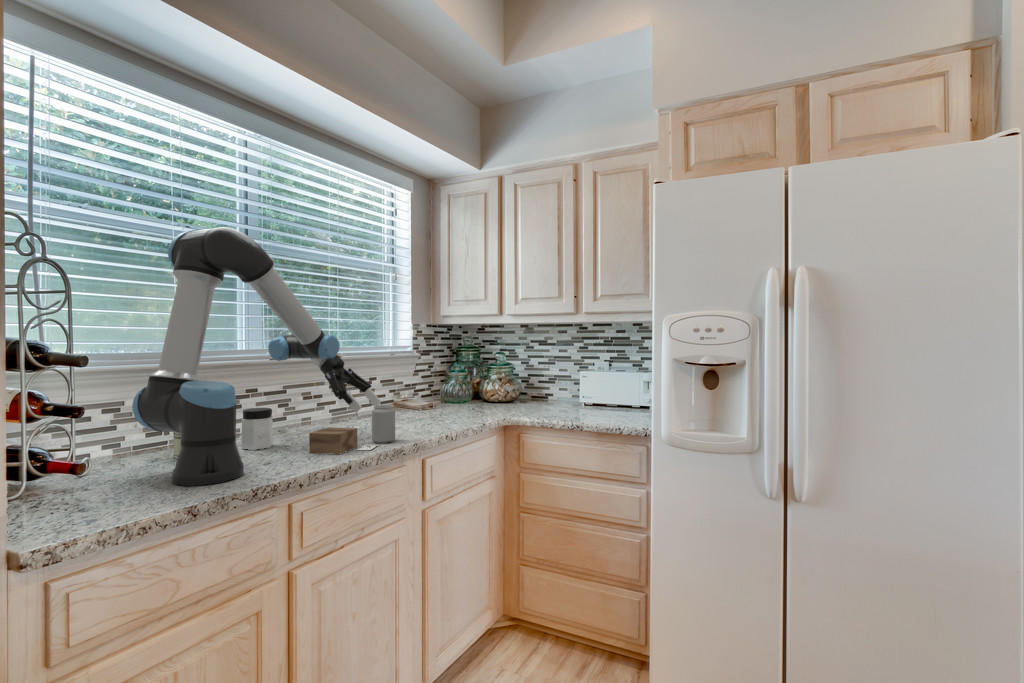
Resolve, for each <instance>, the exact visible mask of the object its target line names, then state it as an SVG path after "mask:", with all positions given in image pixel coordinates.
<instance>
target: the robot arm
mask: <svg viewBox="0 0 1024 683" xmlns="http://www.w3.org/2000/svg"><path fill="white" fill-rule="evenodd" d="M167 249H168V250H167V257H168V260H169V261H170V265H171V267H172V268H173V270H172V275H173V276H174V277H175V278H176V280H177V284H176V288H175V292H174V298H173V302H172V307H171V310H170V316H169V320H168V325H167V328H166V333H165V338H164V343H163V347H162V350H161V356H160V360H159V364H158V367H157V368H158V369H157V370H155V371H154V372H153V373H151V374H149V376H148V380H147V383H146V384H147V385H146V386H144V387H142V389H141V390H138V391H137V393H136V394H135V396H134V398H133V401H132V413H133V416H134V418H135V420H137V422H138V423H139V425H141V426H142V427H144V428H146V429H149V430H153V431H155V432H156V431H157V432H163V433H164V432H165V433H166V432H170V433H174V432H178V433H181V449H180V453H179V456H178V459H176V462H175V466H174V467H175V468H174V469H172V471H171V472H172V474H171V483H172V484H173V485H176V486H177V485H178V486H187V487H189V486H205V484H207V485H213V483H215V484H219V483H218V482H220V483H224V482H223V481H225V482H228V481H227V480H229V481H232V480H231V479H233V480H235V478H236V479H238V478H240V477H242V476H243V475H244V474H245V465H244V462H243V461H242V458H241V454H240V452H239V448H238V445H237V432H236V431H237V398H236V390H235V387H234V386H233V385H232V384H230V383H228V382H224V381H217V380H216V381H215V380H213V381H212V380H202V379H201V378H200V376H198V373H199V367H200V362H201V358H202V352H203V347H204V344H205V343H204V342H205V337H206V332H207V328H208V324H209V318H210V312H211V309H212V304H213V298H214V294H215V290H216V288H217V287H219V286H221V285H222V284H223V283H224V279H225V278H224V277H225V273H227V272H228V273H229V272H230V273H232V274H234V275H236V276H237V277H238V278H239V280H241V282H242V283H245V284H249V285H250V286H251V287H252V288H253V290H254V291H255V292H256V293H257V294H258V296H259V297H260V298H261V299H262V300H263V301H264V303H265V304H266V305H267V306H268V308H269V309H270V310H271V311H272V312H273V313H274V314H275V316H276V317H277V318H278V319H279V321H280V322H282V324H283V325H284V326H285V328H286V329H287V330H288V331H289V332H290V333H291V334H287V335H282V336H281V335H280V336H277V337H274V338H271V340H270V341H269V343H268V346H267V348H268V349H267V350H268V354H269V356H270V357H271V358H272V359H273V360H274V361H277V362H281V361H286V360H291V359H303V360H304V359H306V360H307V359H310V360H311V361H312V362H313V363H314V364H313V365H315V366H316V367H317V368H319V370H320V371H321V372H322V373H323V375H324V378H325V379H326V380H327V382H328V383H329V386H330V388H331V390H332V392H333V394H334V396H335V397H336V398H337V399H338V400H344V402H345V403H346V404H347V405H348V406H349V407H350V409H351V410H352V411H353V412H354V413H355V414H357V413H358V412H359V411H360V410H361V409H362V408H363V406H362V405H361V404H360V402H358V400H357V399H356V398H355V397H354V396H353V395H352V394H351V392H347V387H346V386H347V385H351V386H353V387H354V388H356V389H358V390H359V391H361V392H362V393H363V395H364V397H366V398H367V400H368V401H369V402H370V403H371V405H373V407H374V406H377V405H381V403H382V401H381V399H380V398H379V397H378V396H377V395H376V394H375V392H374V391H373V390H372V389H371V387H372V385H371V384H370V383H369V382H368V381H367V380H365V379H364V378H363V377H361V376H360V375H358V374H357V373H356V372H354V371H353V370H352V368H348V369H346V368H344V366H345V362H344V360H343V359H342V358H341V357H340V356H339V355H338V354H339V351H340V342H339V339H338V338H337V337H336V336H335V335H333V334H326V333H325V332H324V330H322V329H321V327H320V326H319V324H318V323H317V322H316V321H315V320H314V318H313V317H312V315H311V314H310V313H309V312H308V310H307V309H306V308H305V306H303V304H302V303H301V301H300V300H299V299H298V297H297V296H296V295H295V294H294V293H293V291H292V289H291V288H290V287H289V286H288V285H287V283H286V282H285V281H284V280H283V278H282V277H281V275H280V274H279V273H278V272H277V270H276V269H275V262H274V260H273V259H272V258H271V257H270V255H269V254H268V253H267V252H266V250H265V249H263V247H262V246H261V245H260V244H258V243H257V242H256V241H255V240H254V239H253V238H251V237H250V236H249V235H247V234H245V233H244V232H242V231H240V230H237V229H236V228H232V227H228V226H221V227H220V226H219V227H214V228H205V229H192V230H187V231H186V232H181V233H179V234H177V235H176V236H175V237H174V238H173V239H172V240H171V241H170V243H169V246H168V248H167ZM346 384H347V385H346Z"/></svg>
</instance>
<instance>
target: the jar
mask: <svg viewBox="0 0 1024 683" xmlns="http://www.w3.org/2000/svg"><path fill="white" fill-rule="evenodd" d="M272 413H273V409H272V408H271V407H253V408H245V409H243V410H242V419H241V450H243V449H248V450H247V451H258V450H257V449H260V450H265V449H264V448H267V449H270V448H271V447H272V446H273V445H274V444H273V437H274V436H273V416H272V415H273V414H272Z"/></svg>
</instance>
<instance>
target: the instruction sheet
mask: <svg viewBox="0 0 1024 683" xmlns="http://www.w3.org/2000/svg"><path fill="white" fill-rule="evenodd" d="M370 445H372V446H378V447H380V444H363V445H362V446H367V447H369V448H371V446H370ZM363 448H364V447H363Z"/></svg>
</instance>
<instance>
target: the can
mask: <svg viewBox="0 0 1024 683" xmlns="http://www.w3.org/2000/svg"><path fill="white" fill-rule="evenodd" d="M395 440H396V410H395V408H394V405H393V404H379V405H377V406H374V405H373V409H372V410H371V441H372V442H374V444H379V443H384V444H388V443H387V442H391V443H393V442H394V441H395ZM392 441H393V442H392Z"/></svg>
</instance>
